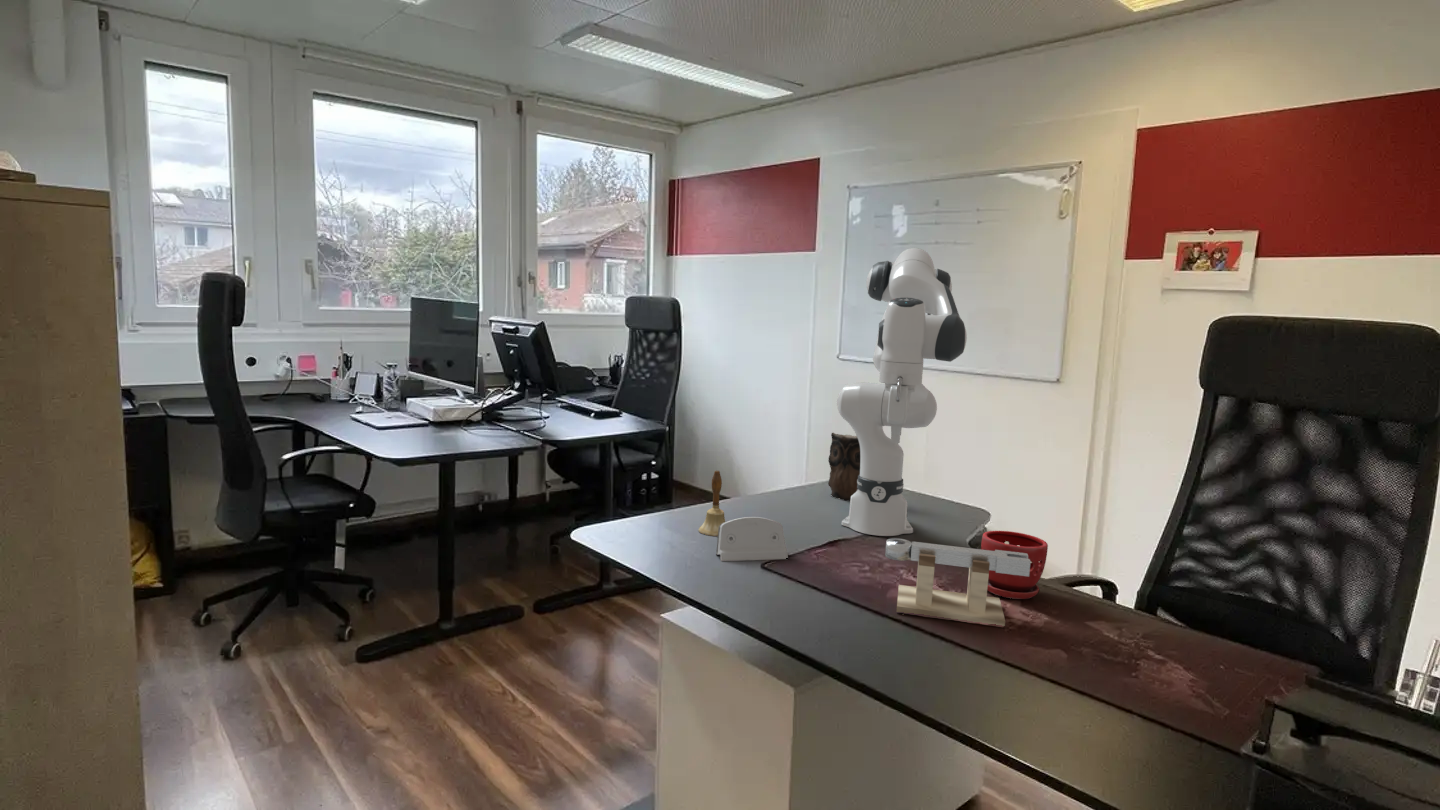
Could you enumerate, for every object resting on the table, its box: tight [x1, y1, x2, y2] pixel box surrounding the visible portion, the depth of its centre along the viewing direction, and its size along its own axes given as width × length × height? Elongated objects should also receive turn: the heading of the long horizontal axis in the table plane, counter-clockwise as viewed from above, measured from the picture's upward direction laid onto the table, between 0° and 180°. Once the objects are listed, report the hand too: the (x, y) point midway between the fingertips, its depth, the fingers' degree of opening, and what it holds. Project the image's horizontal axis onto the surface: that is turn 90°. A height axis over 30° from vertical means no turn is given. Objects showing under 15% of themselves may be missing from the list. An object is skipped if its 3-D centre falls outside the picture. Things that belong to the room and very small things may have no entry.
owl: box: [827, 432, 860, 501], centre depth 238 cm, size 13×13×20 cm
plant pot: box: [980, 530, 1049, 600], centre depth 165 cm, size 13×13×12 cm
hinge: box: [715, 516, 789, 562], centre depth 182 cm, size 17×5×10 cm, turn 102°
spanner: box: [884, 537, 1031, 577], centre depth 153 cm, size 27×5×3 cm, turn 75°
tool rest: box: [896, 554, 1006, 626], centre depth 153 cm, size 12×20×12 cm, turn 75°
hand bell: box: [697, 470, 726, 537], centre depth 198 cm, size 8×8×16 cm
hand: (895, 439), depth 166 cm, fingers open, 8 cm apart
